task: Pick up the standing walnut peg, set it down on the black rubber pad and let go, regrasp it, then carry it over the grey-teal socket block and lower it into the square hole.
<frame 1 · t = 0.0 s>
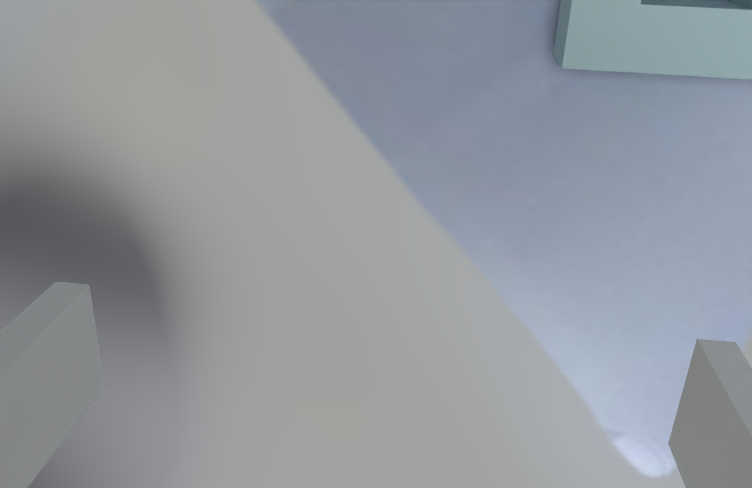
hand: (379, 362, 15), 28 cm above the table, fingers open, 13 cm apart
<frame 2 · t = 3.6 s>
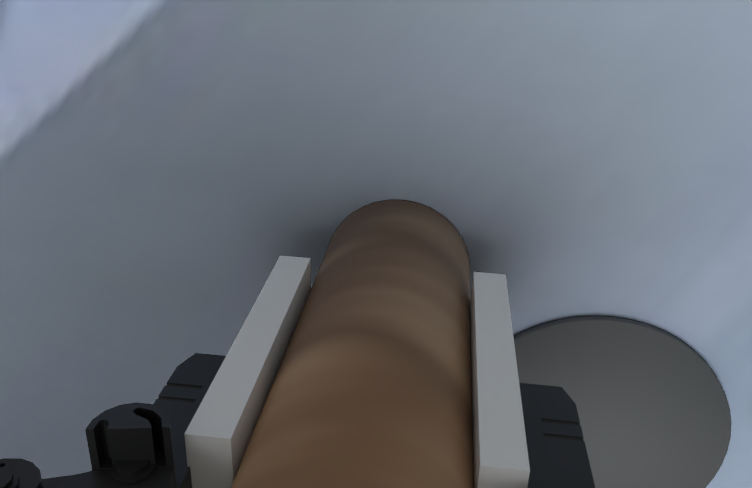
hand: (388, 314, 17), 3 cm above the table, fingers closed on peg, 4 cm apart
peg: (397, 266, 20), on the table, touching gripper
pad: (586, 430, 21), on the table
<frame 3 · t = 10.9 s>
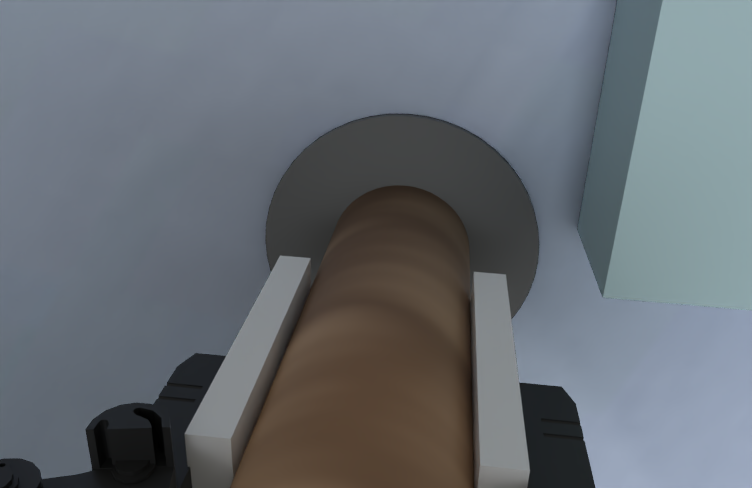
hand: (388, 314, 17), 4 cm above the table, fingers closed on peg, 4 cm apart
peg: (400, 249, 21), resting on pad, touching gripper
pad: (400, 246, 21), on the table
when the fingers open (6 cm above the table, at t = 16.8 s): peg drops 1 cm, resting in socket.
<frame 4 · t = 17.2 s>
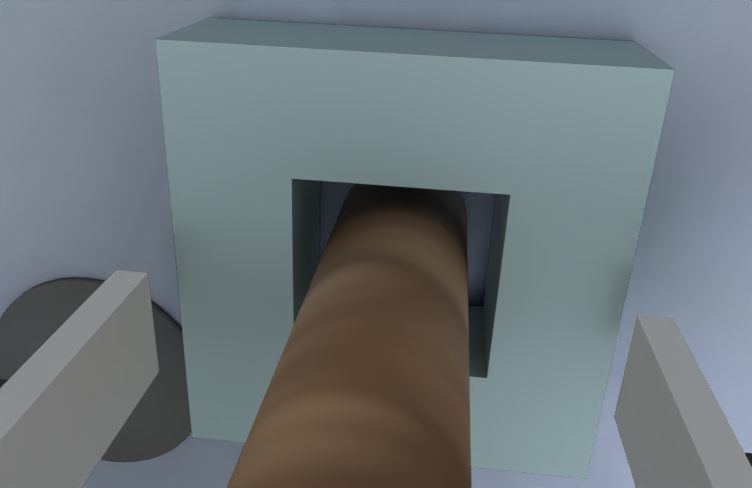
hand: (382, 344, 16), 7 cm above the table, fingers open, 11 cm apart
peg: (403, 223, 22), resting in socket
pad: (101, 372, 26), on the table
socket: (405, 224, 22), on the table
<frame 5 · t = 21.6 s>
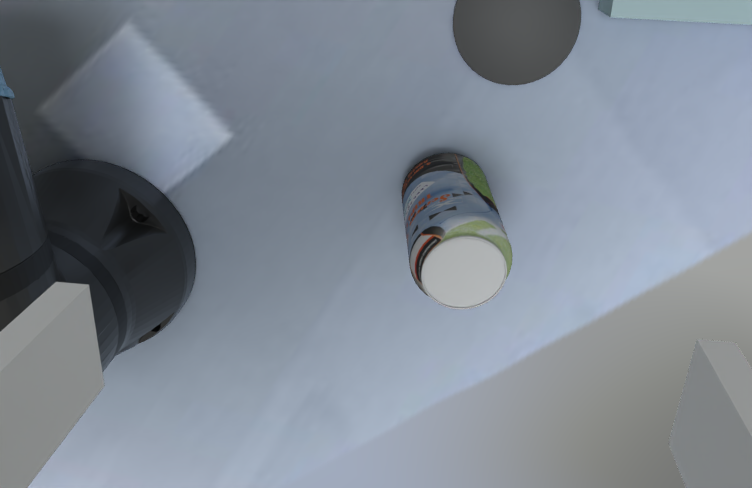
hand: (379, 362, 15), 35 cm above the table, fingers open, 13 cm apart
beverage can: (453, 192, 51), on the table
pad: (515, 21, 45), on the table
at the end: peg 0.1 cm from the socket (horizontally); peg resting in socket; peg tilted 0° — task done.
